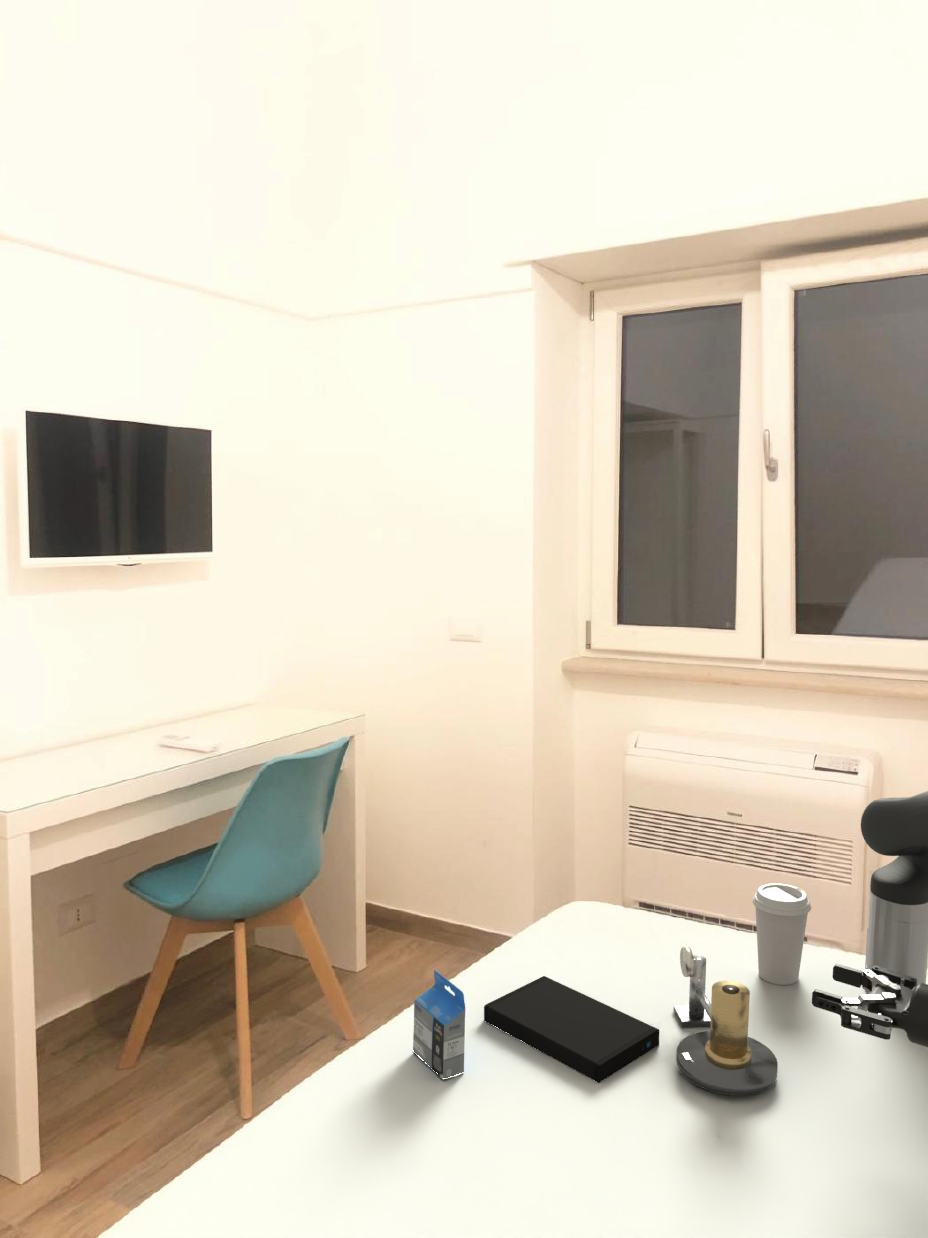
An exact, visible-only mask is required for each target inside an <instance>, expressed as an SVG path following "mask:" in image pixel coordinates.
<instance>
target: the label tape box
mask: <svg viewBox="0 0 928 1238" xmlns="http://www.w3.org/2000/svg"><path fill="white" fill-rule="evenodd" d="M433 976H434V985H432V986H431V987H429V988H428V989H427V990H426V991H425V992H424V993H422V994H421V995H419V996H418V997H417V998H415V999H414V1001H413V1033H412V1034H413V1037H412V1038H413V1039H412V1041H413V1042H412V1051H413V1050H414V1052H415V1053H416V1054H417V1055H419V1056H420V1057H421V1058H422V1059H423V1060H424V1062H426V1063H427V1064H428V1065H429V1066H430V1067H431V1068H432V1069H433V1070H434V1071H435V1072H437V1073H438V1075H439V1076H440V1077H441V1078H448V1077H450V1076H454V1075H456V1074H459V1073H462V1072H464V1073H465V1043H466V1042H465V1039H466V1038H465V1037H466V1035H465V1034H466V1033H465V1032H466V1030H465V1029H466V1003H465V996H464V995H465V994H464V992H463V991H462V990H461V989H460V988H459V987H457V985H455V984H454V983H452V982H451V981H450V980H449V979H448V978H447V977H445V976H443V975H442V974H441V973H440V972H438V970H435V969H433ZM445 986H446V987H445ZM446 988H449V989H450V990H451V991H452V992H453V993H451V992H450V991H449V990H448V989H446ZM424 1062H423V1063H424ZM434 1071H433V1072H434ZM435 1072H434V1073H435ZM438 1075H437V1076H438ZM439 1076H438V1077H439ZM440 1077H439V1078H440ZM441 1078H440V1079H441Z"/></svg>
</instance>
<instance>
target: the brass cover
mask: <svg viewBox="0 0 928 1238" xmlns="http://www.w3.org/2000/svg"><path fill="white" fill-rule="evenodd" d="M750 992H751V991H750V989H749V988H748V987H747V986H746V985H744V984H743V983H740V982H737V981H733V980H719V981H716V982H714V983H713V984H712V986H711V1000H710V1004H711V1022H710V1027H709V1031H710V1039H709V1040H708V1041H707V1042H706V1044H705V1056H706V1058H707V1060H708V1061H709V1062H711V1063H712V1064H714V1065H716V1066H718V1067H721V1068H725V1069H742V1068H745V1067H747V1066H748V1065H749V1064H750V1063H751V1049H750V1047H749V1046H748V1045H747V1043H748V1037H749V1021H750V1020H749V1018H750V1017H749V1016H750V997H751V996H750V995H751V994H750Z"/></svg>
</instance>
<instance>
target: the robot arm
mask: <svg viewBox="0 0 928 1238" xmlns="http://www.w3.org/2000/svg"><path fill="white" fill-rule="evenodd" d="M860 833H861V835H862V837H863V839H864V841H865V843H866V845H867V846H868V847H869V848H870V849H871V850H872V851H874V852H875V853H877V854H878V855H882V856H885V857H887V856H888V857H896V858H895V859H894V860H892V861H891V862H888V864H886V865H883V866H882V867H879V868H878V869H877V868H876V869H875V871H873V873H871V874H872V875H871V877H870V885H869V887H870V890H869V902H868V903H869V905H868V907H869V909H868V911H869V912H868V924H867V925H868V926H867V930H866V946H865V947H866V949H865V964H864V965H865V966H864V969H863V970H860V969H856V968H853V967H850V966H846V965H844V964H839V963H835V965H834V966H833V967H832V980H834V981H836V982H838V983H842V984H845V985H847V986H851V987H854V988H858V989H860V988H861V989H862V990H864V991H865V992H866V993H867V994H859V996H858V997H853V998H852V997H844V998H843V996H841V995H838V994H835V993H831V992H828V991H826V990H825V991H824V990H821V989H819V988H818V989H817V988H816V989H813V992H812V993H811V1005H812V1006H813V1007H815V1008H818V1009H821V1010H823V1011H827V1012H830V1013H833V1014H836V1015H838V1016H840V1020H841V1021H840V1026H841V1027H843V1028H845V1029H848V1030H852V1031H855V1032H859V1033H861V1034H865V1035H869V1036H872V1037H876V1038H879V1039H883V1040H886V1041H887V1040H890V1039H891V1034H892V1029H899V1030H904V1032H905V1033H906V1037H907V1039H908V1041H909V1042H911V1043H913V1044H915V1045H918V1046H922V1047H926V1048H928V984H927V973H928V972H927V971H928V790H927V791H923V792H921V793H917V794H915V795H913V796H907V797H905V796H904V797H882V798H877V799H875V800H873V801H871V802H870V803H869V804H868V805H867V806H866V807H865V809H864V810H863V812H862V815H861V819H860ZM856 1007H857V1008H856ZM856 1021H860V1023H858V1022H856Z"/></svg>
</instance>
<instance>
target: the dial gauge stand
mask: <svg viewBox="0 0 928 1238" xmlns="http://www.w3.org/2000/svg"><path fill="white" fill-rule="evenodd" d="M679 963H680V969H681V973H682V976H683V977H684V978H689V989H688V991H689V998H688V1004H673V1013H674V1015H675V1018H676V1019H677V1021H678V1023H679V1025H680V1027H681V1028H682V1029H683V1028H707V1027H708V1028H710V1022H711V1001H710V1000H709V999H708V996H707V994H706V977H707V958H706V957H705V956H703V955H700V954H698V955H697V954H695V955H694V954H693V951H692V949H691V947H690V946H686V947H685V946H683V947H681V949H680V953H679Z"/></svg>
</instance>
